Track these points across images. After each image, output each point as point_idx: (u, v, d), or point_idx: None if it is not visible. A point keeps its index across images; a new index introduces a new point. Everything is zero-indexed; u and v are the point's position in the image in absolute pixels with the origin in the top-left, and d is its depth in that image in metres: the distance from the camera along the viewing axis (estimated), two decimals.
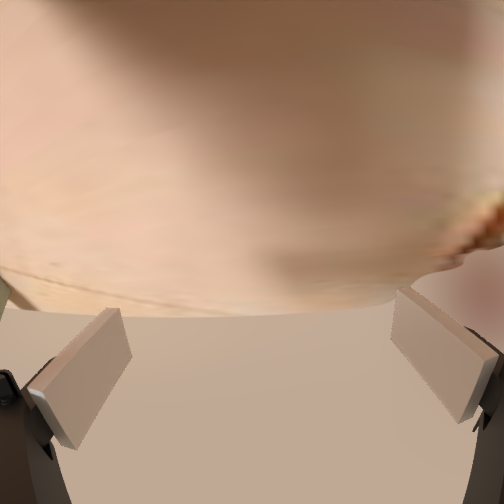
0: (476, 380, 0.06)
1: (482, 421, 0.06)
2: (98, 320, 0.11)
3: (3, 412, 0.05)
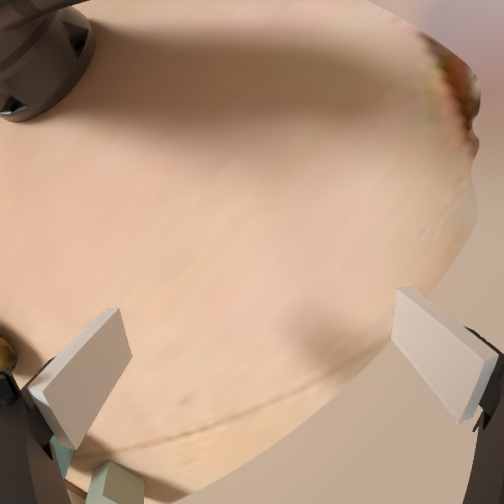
0: (476, 380, 0.06)
1: (482, 421, 0.06)
2: (99, 320, 0.11)
3: (3, 412, 0.05)
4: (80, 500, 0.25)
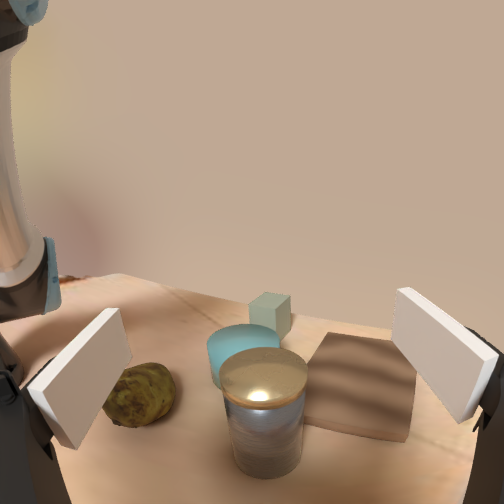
0: (476, 380, 0.06)
1: (482, 421, 0.06)
2: (99, 320, 0.11)
3: (3, 412, 0.05)
4: (331, 340, 0.44)
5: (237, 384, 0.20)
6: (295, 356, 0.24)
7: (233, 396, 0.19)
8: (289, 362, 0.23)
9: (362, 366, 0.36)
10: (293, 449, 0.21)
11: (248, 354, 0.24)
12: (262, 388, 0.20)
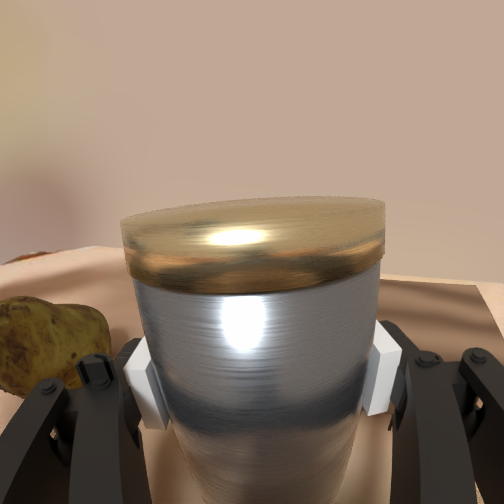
0: (376, 373, 0.08)
1: (394, 421, 0.07)
2: None
3: (94, 397, 0.06)
4: None
5: (165, 216, 0.06)
6: (333, 197, 0.10)
7: (139, 243, 0.05)
8: (322, 198, 0.09)
9: (414, 310, 0.22)
10: (341, 462, 0.07)
11: (217, 202, 0.10)
12: (247, 212, 0.06)
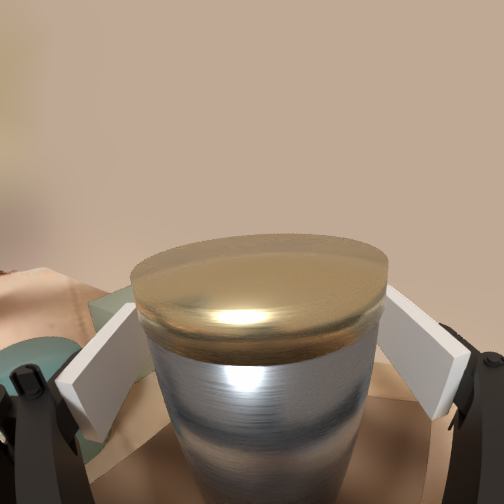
0: (447, 377, 0.07)
1: (457, 420, 0.06)
2: (121, 314, 0.11)
3: (29, 407, 0.05)
4: None
5: (176, 278, 0.07)
6: (337, 239, 0.10)
7: (153, 311, 0.06)
8: (327, 244, 0.09)
9: None
10: (337, 483, 0.08)
11: (223, 242, 0.11)
12: (256, 283, 0.06)
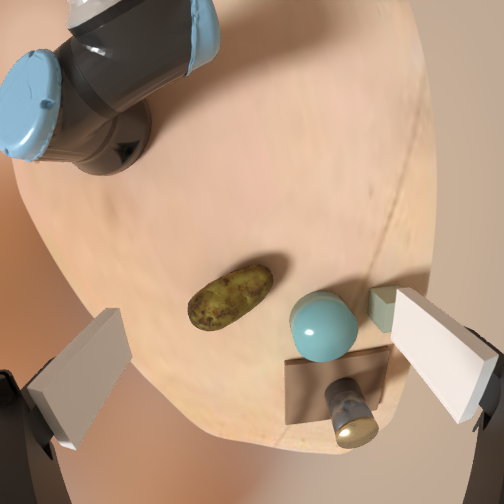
0: (476, 380, 0.06)
1: (482, 421, 0.06)
2: (98, 320, 0.11)
3: (3, 412, 0.05)
4: (376, 359, 0.47)
5: (344, 436, 0.37)
6: (372, 437, 0.37)
7: (337, 436, 0.37)
8: (367, 438, 0.37)
9: None
10: None
11: (368, 425, 0.36)
12: (345, 442, 0.37)
